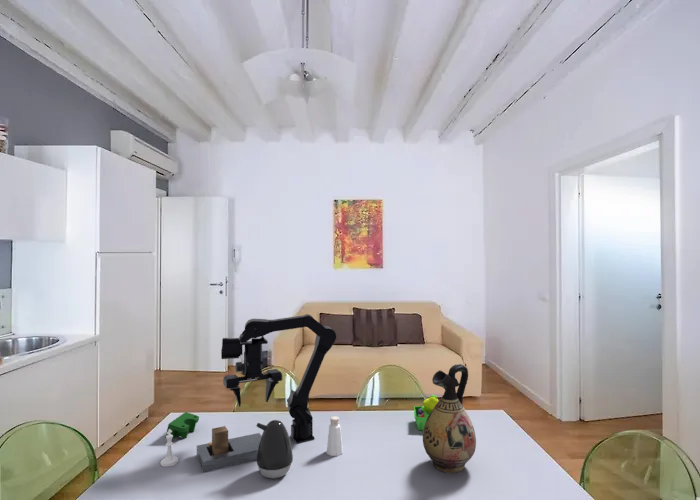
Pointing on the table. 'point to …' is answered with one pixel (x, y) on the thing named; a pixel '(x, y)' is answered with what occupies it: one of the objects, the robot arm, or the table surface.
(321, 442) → the table surface
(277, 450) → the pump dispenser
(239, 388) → the robot arm
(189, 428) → the clamp
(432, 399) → the fruit basket
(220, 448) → the walnut peg
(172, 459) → the chess piece
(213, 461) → the grey peg hole board
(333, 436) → the pepper shaker
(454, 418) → the ceramic jug
